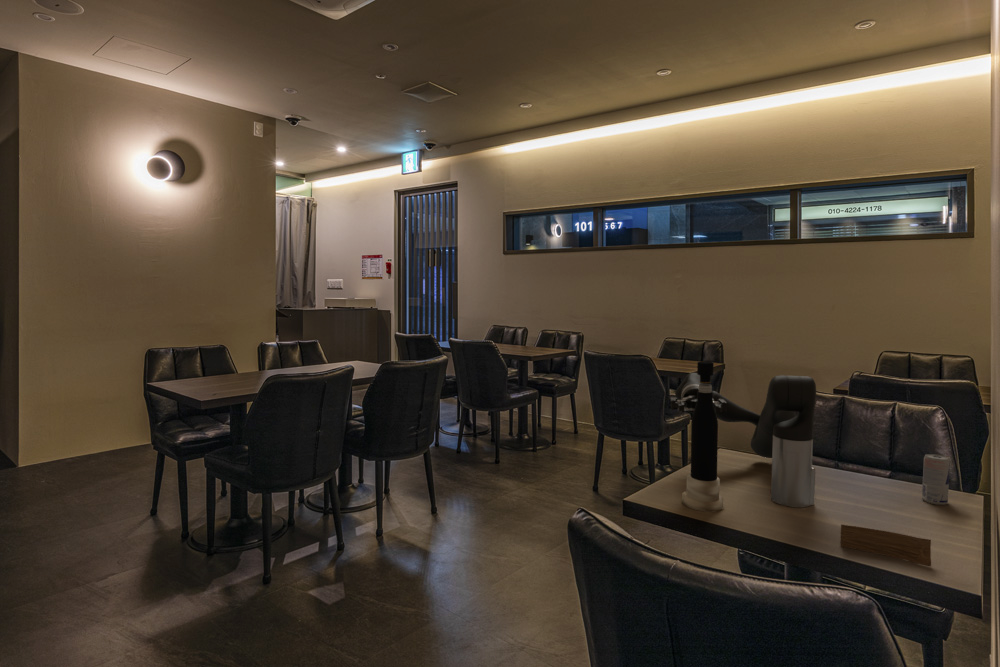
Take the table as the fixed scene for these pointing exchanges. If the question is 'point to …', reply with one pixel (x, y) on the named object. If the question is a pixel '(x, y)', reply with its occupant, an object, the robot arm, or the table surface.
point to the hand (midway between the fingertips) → (699, 409)
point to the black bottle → (704, 428)
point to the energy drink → (935, 479)
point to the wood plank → (887, 544)
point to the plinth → (702, 504)
